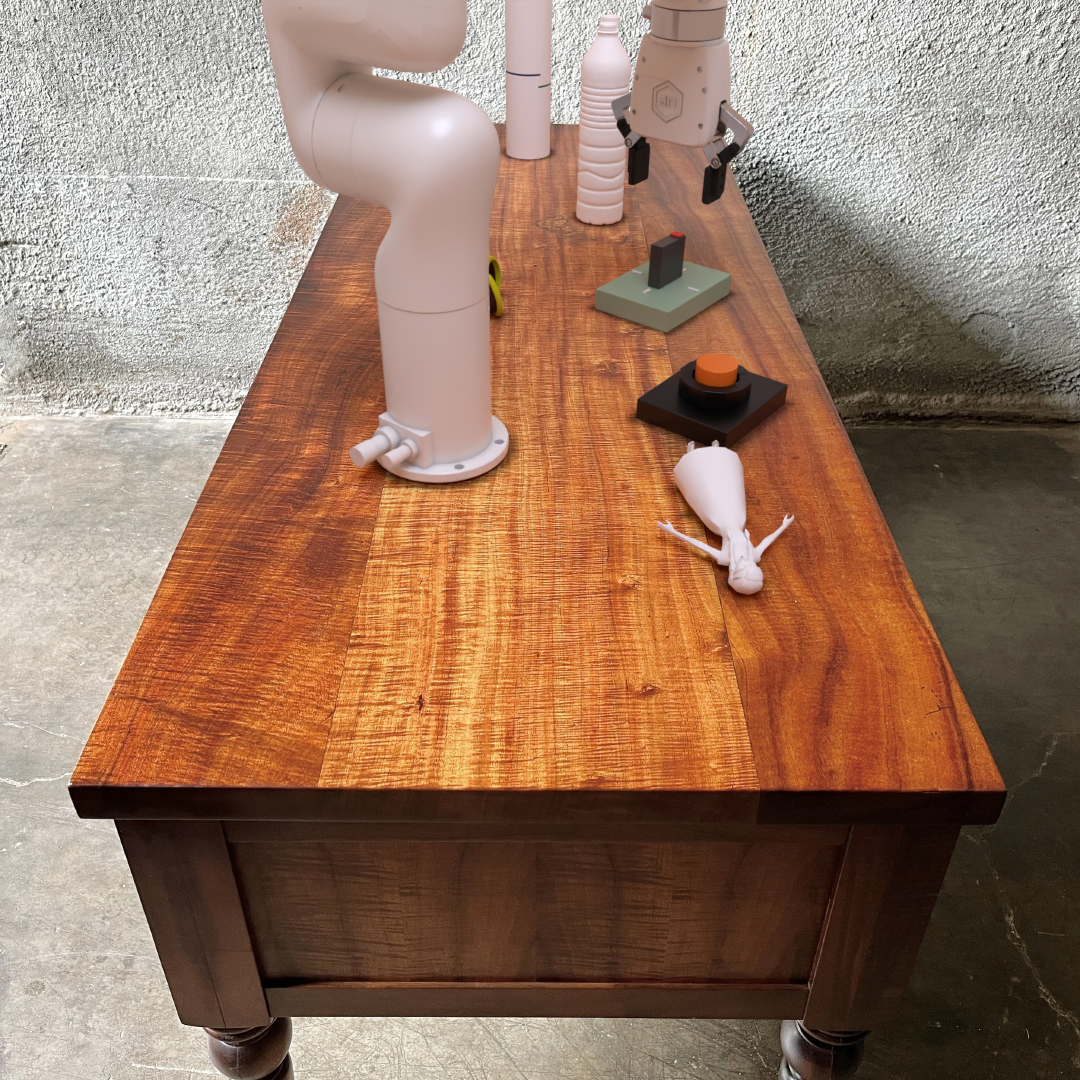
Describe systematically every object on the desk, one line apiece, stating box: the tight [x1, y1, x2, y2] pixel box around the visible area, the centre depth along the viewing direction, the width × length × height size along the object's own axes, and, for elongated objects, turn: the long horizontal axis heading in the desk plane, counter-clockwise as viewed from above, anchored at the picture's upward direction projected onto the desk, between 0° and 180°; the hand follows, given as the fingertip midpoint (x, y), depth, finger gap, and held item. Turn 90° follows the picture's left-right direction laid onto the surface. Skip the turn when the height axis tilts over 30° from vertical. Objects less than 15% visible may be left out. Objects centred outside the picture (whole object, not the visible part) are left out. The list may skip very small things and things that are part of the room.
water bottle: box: [575, 13, 632, 226], centre depth 139 cm, size 9×6×25 cm
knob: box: [648, 230, 687, 289], centre depth 121 cm, size 5×2×5 cm, turn 142°
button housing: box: [635, 357, 789, 450], centre depth 102 cm, size 12×10×4 cm
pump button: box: [695, 352, 739, 387], centre depth 100 cm, size 4×4×2 cm
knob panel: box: [594, 259, 733, 333], centre depth 123 cm, size 14×10×3 cm
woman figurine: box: [655, 440, 795, 595], centre depth 86 cm, size 12×4×18 cm
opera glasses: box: [489, 254, 504, 317], centre depth 121 cm, size 10×5×5 cm, turn 3°
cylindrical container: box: [504, 0, 553, 160], centre depth 162 cm, size 7×7×25 cm
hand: (674, 191), depth 116 cm, fingers open, 9 cm apart
